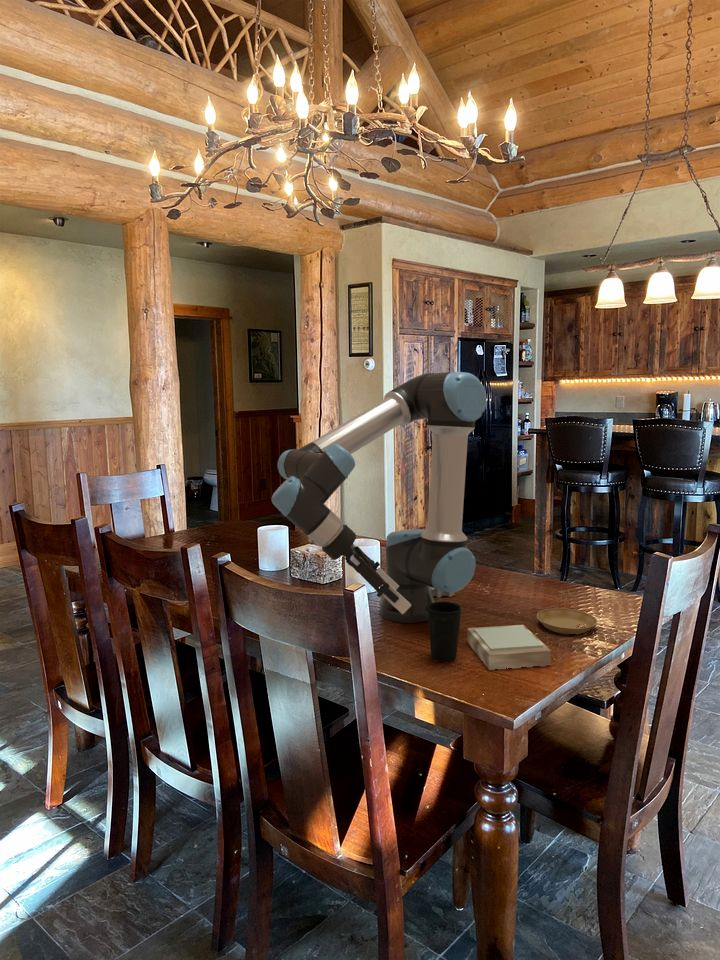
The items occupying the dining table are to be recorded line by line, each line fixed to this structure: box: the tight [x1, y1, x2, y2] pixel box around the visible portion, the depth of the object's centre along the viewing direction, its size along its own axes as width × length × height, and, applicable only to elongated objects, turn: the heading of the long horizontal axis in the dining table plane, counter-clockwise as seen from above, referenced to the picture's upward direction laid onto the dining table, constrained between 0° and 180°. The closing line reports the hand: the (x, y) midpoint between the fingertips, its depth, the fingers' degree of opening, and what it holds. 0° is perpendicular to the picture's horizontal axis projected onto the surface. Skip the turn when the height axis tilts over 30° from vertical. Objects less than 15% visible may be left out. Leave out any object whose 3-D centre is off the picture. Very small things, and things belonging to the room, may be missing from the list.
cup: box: [427, 601, 462, 663], centre depth 147 cm, size 8×8×12 cm
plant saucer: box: [536, 607, 598, 635], centre depth 166 cm, size 15×15×3 cm
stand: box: [466, 624, 552, 671], centre depth 150 cm, size 16×14×4 cm
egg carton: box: [429, 586, 456, 598], centre depth 194 cm, size 11×8×4 cm
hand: (400, 599), depth 144 cm, fingers open, 13 cm apart
